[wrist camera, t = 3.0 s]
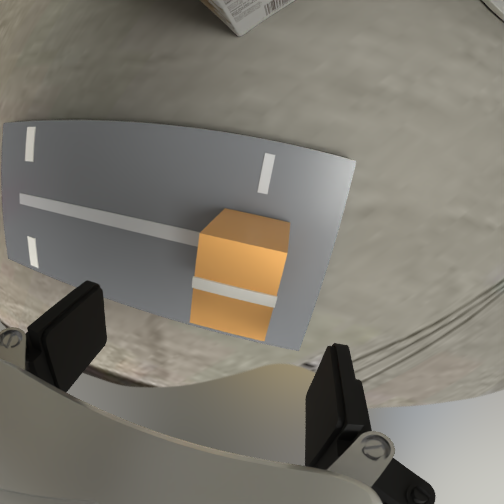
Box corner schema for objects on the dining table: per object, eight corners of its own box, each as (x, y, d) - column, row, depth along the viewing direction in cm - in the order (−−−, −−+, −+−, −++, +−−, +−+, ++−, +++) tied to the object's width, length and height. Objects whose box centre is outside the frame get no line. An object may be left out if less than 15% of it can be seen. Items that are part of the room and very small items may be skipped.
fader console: (350, 159, 18) (356, 161, 16) (299, 335, 23) (298, 351, 21) (18, 121, 20) (3, 123, 18) (20, 251, 25) (7, 258, 23)
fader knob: (291, 222, 18) (288, 254, 13) (273, 294, 20) (264, 342, 15) (224, 208, 18) (197, 233, 13) (213, 280, 20) (188, 323, 15)
